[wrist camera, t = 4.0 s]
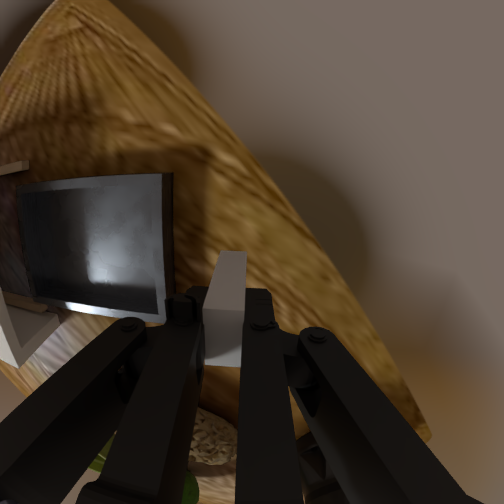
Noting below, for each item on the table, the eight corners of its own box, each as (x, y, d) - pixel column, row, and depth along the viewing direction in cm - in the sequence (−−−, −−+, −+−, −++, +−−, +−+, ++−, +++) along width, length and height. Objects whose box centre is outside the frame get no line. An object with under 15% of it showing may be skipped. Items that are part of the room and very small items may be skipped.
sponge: (250, 409, 31) (105, 337, 22) (251, 464, 24) (80, 406, 16) (190, 428, 35) (73, 371, 27) (186, 471, 29) (56, 420, 21)
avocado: (208, 469, 34) (202, 526, 23) (193, 481, 36) (186, 530, 25) (163, 455, 33) (150, 513, 22) (153, 468, 35) (141, 518, 24)
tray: (173, 172, 21) (161, 173, 18) (176, 306, 24) (168, 323, 21) (34, 182, 20) (16, 186, 18) (48, 290, 24) (33, 301, 21)
